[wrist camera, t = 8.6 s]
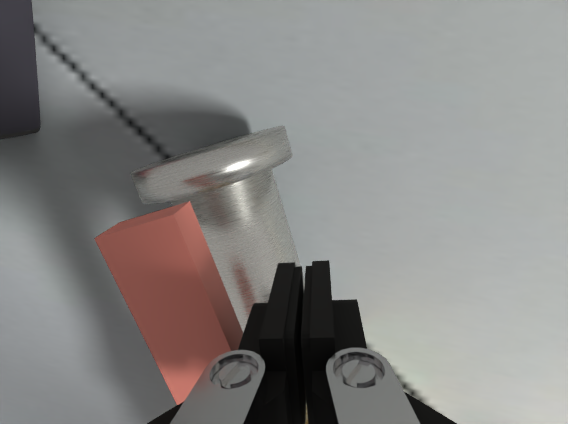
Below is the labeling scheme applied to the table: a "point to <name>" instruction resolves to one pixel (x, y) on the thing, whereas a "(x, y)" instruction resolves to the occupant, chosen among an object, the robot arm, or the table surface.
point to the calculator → (18, 70)
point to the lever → (172, 292)
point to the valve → (232, 209)
